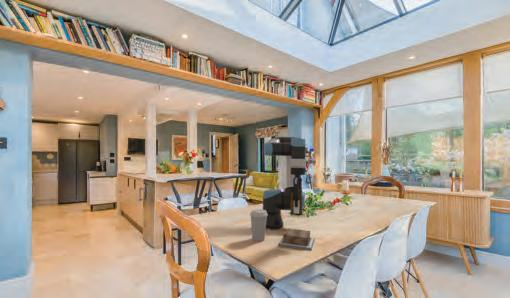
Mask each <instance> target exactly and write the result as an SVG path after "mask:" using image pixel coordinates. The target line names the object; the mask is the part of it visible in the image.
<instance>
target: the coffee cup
mask: <svg viewBox="0 0 510 298" xmlns="http://www.w3.org/2000/svg"><path fill="white" fill-rule="evenodd" d="M249 216H250V223H251V224H250V226H251V241H254V242H256V243H257V242H259V243H261V242H264V241H265V239H266V238H265V237H266V230H267V229H266V220H267V216H268V214H267V212H266V210H263V209H259V208H258V209H251V211H250V213H249Z"/></svg>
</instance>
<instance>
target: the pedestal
mask: <svg viewBox="0 0 510 298" xmlns="http://www.w3.org/2000/svg"><path fill="white" fill-rule="evenodd" d="M310 237H311V231H310V230H306V229H299V228H298V229H297V228H287V229H286V230H285V232H284V233H283V236H282V238H283V243H287V244H294V245H302V246H308V244H309V241H310Z"/></svg>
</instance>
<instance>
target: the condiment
mask: <svg viewBox="0 0 510 298" xmlns="http://www.w3.org/2000/svg"><path fill="white" fill-rule="evenodd" d="M302 192H303V190H302V191H301V190H299V214H297V213H294V200H292V199H293V190H292V193H291V194H292V195H291V209H290V210H289V211H290V212H287V214H289V215H295V216H297V217H299V216H300V217H301V216H307V215H308V213H305V212H303V209H302Z"/></svg>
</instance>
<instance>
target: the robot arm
mask: <svg viewBox="0 0 510 298" xmlns="http://www.w3.org/2000/svg"><path fill="white" fill-rule="evenodd" d="M306 145H307V144H306V138H304V137H299V136H276V137H273V138H270V139H269V140H268V141H267V142H264V143H263V154H264V156H266V157H267V156H268V157H281V156H282V157H285V165H286V166H285V170H286V171H285V172H286V174H285V175H286V176H285V177H286V178H285V179H286V187H285V188H283V189H284V190H283V191H282V189H281V188H272V189H266V190H264V191H263V193H262V210H266V212H267V214H268V216H267V220H266V229H265V230H280V229H282V228H284V220H283V217H282V211H291V210H290V209H291V195H292V194H291V193H292V190H293V199H292V200H294V213H297V214H299V190H301V191H302V210H303V209H304V208H305V207H304V206H305V200H306V192H305V191H303V188H302V185H303V179H302V177H301V176H304V175H306V168H305V167H306V163H307V161H306Z"/></svg>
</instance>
